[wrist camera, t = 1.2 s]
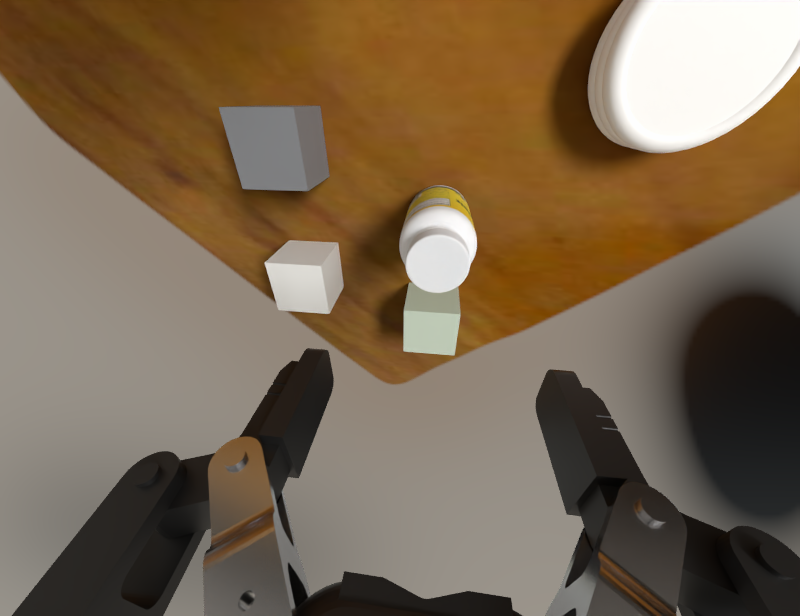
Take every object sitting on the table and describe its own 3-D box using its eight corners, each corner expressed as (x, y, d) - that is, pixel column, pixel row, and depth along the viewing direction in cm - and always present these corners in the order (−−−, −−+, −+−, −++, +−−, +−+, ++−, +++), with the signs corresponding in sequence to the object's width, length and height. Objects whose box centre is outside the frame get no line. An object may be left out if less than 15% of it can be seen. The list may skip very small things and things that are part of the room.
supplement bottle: (472, 239, 27) (484, 298, 19) (414, 248, 28) (403, 308, 20) (466, 176, 24) (477, 215, 16) (401, 190, 25) (382, 232, 17)
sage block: (409, 282, 30) (403, 310, 26) (458, 285, 30) (460, 314, 26) (408, 320, 33) (403, 351, 29) (452, 323, 33) (454, 355, 29)
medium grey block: (258, 105, 23) (218, 107, 19) (320, 105, 22) (293, 107, 18) (274, 174, 26) (242, 189, 22) (329, 176, 25) (307, 191, 21)
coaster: (780, -124, 15) (861, -178, 12) (776, 87, 19) (834, 85, 16) (566, 28, 19) (588, 15, 16) (603, 174, 23) (625, 185, 20)
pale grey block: (289, 240, 29) (264, 262, 25) (338, 242, 29) (321, 266, 25) (299, 283, 32) (278, 310, 28) (343, 286, 32) (329, 313, 28)
